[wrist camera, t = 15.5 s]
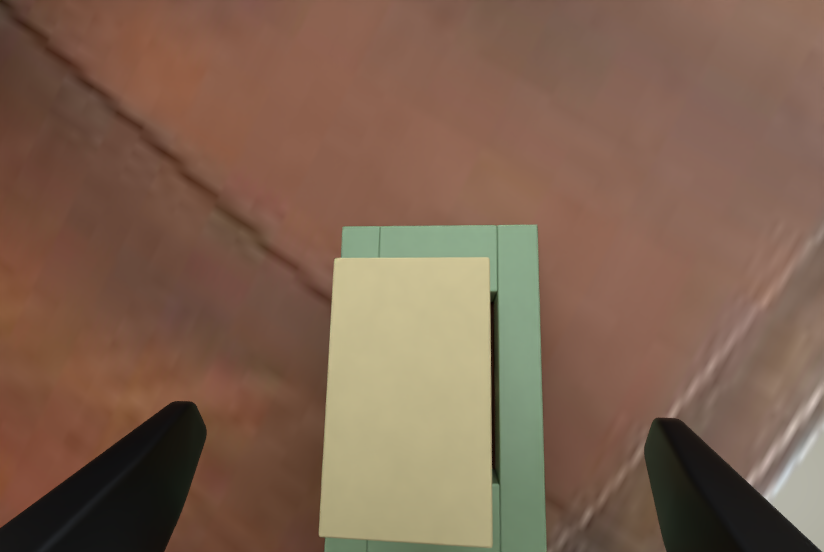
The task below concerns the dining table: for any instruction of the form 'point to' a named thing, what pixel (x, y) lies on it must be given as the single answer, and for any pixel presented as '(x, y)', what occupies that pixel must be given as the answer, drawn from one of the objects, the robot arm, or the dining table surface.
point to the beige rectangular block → (409, 402)
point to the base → (513, 370)
